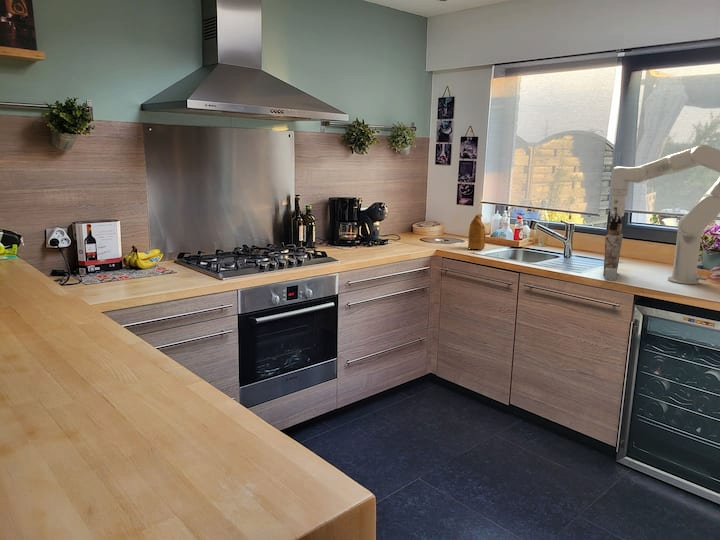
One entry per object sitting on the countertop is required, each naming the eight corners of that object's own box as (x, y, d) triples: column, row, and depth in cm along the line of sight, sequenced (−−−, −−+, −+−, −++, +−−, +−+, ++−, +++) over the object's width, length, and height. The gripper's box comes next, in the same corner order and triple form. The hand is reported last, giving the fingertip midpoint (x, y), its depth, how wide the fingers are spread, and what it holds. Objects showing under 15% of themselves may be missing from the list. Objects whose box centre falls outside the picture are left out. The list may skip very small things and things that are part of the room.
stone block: (617, 277, 264) (621, 236, 260) (601, 276, 267) (605, 235, 263) (618, 272, 275) (623, 233, 272) (603, 271, 279) (607, 232, 275)
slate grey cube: (615, 278, 262) (616, 268, 261) (616, 280, 257) (617, 270, 256) (604, 277, 264) (605, 267, 263) (604, 279, 259) (605, 269, 258)
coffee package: (487, 248, 348) (489, 213, 343) (481, 251, 337) (483, 215, 333) (472, 247, 353) (473, 212, 348) (465, 249, 342) (467, 214, 338)
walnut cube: (620, 234, 268) (622, 224, 267) (619, 235, 264) (620, 224, 263) (609, 233, 271) (610, 223, 270) (607, 234, 267) (608, 224, 266)
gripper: (624, 194, 254) (620, 231, 258) (630, 192, 268) (626, 227, 272) (606, 193, 258) (603, 230, 262) (613, 191, 273) (610, 226, 276)
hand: (615, 228), depth 267 cm, fingers open, 8 cm apart
